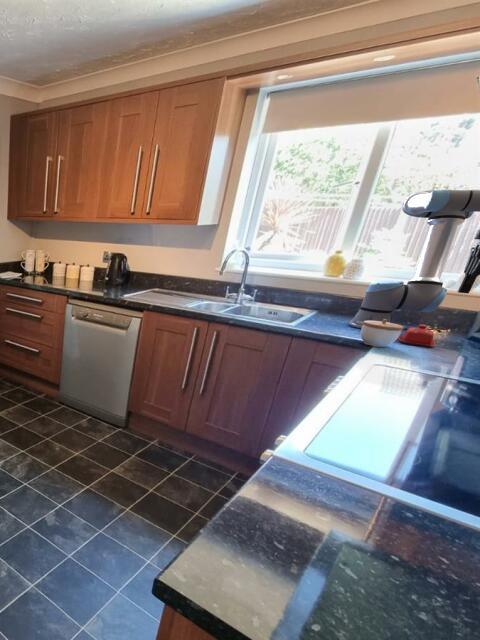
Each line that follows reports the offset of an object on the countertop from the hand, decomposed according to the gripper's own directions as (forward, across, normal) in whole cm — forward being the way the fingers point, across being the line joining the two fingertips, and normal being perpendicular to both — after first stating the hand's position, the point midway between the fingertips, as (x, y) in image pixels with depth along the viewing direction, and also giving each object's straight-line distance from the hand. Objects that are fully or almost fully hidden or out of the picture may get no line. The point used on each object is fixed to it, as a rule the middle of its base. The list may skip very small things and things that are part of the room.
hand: (463, 292), depth 165 cm
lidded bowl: (+24, -3, +20) cm, 31 cm away
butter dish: (+24, +12, +3) cm, 27 cm away
